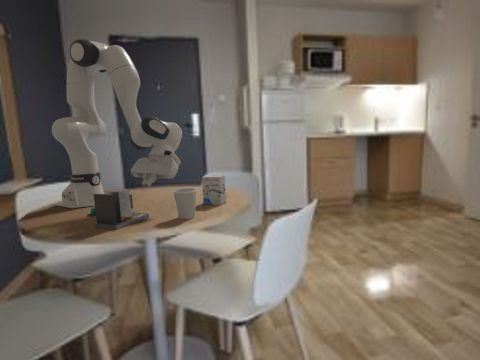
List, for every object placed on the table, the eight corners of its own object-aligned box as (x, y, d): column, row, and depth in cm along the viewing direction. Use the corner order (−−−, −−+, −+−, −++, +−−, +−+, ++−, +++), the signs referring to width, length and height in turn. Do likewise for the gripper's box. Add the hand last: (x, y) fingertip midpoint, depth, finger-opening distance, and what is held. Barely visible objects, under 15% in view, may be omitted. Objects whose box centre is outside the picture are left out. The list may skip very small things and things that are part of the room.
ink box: (202, 204, 150) (200, 176, 149) (208, 201, 155) (206, 174, 153) (221, 205, 147) (219, 176, 145) (226, 202, 152) (224, 174, 150)
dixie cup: (201, 214, 133) (199, 187, 132) (194, 220, 125) (192, 192, 123) (179, 214, 135) (177, 188, 133) (171, 220, 126) (169, 192, 125)
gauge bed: (94, 227, 123) (90, 194, 121) (128, 215, 137) (125, 186, 135) (116, 229, 118) (112, 195, 117) (149, 217, 133) (146, 186, 131)
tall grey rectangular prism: (108, 219, 126) (105, 191, 124) (122, 215, 132) (119, 188, 130) (127, 221, 122) (124, 192, 120) (140, 216, 128) (138, 188, 126)
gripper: (136, 152, 148) (120, 179, 141) (176, 152, 139) (162, 181, 132) (144, 161, 153) (130, 188, 145) (184, 162, 143) (170, 191, 136)
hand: (145, 185), depth 138 cm, fingers closed
